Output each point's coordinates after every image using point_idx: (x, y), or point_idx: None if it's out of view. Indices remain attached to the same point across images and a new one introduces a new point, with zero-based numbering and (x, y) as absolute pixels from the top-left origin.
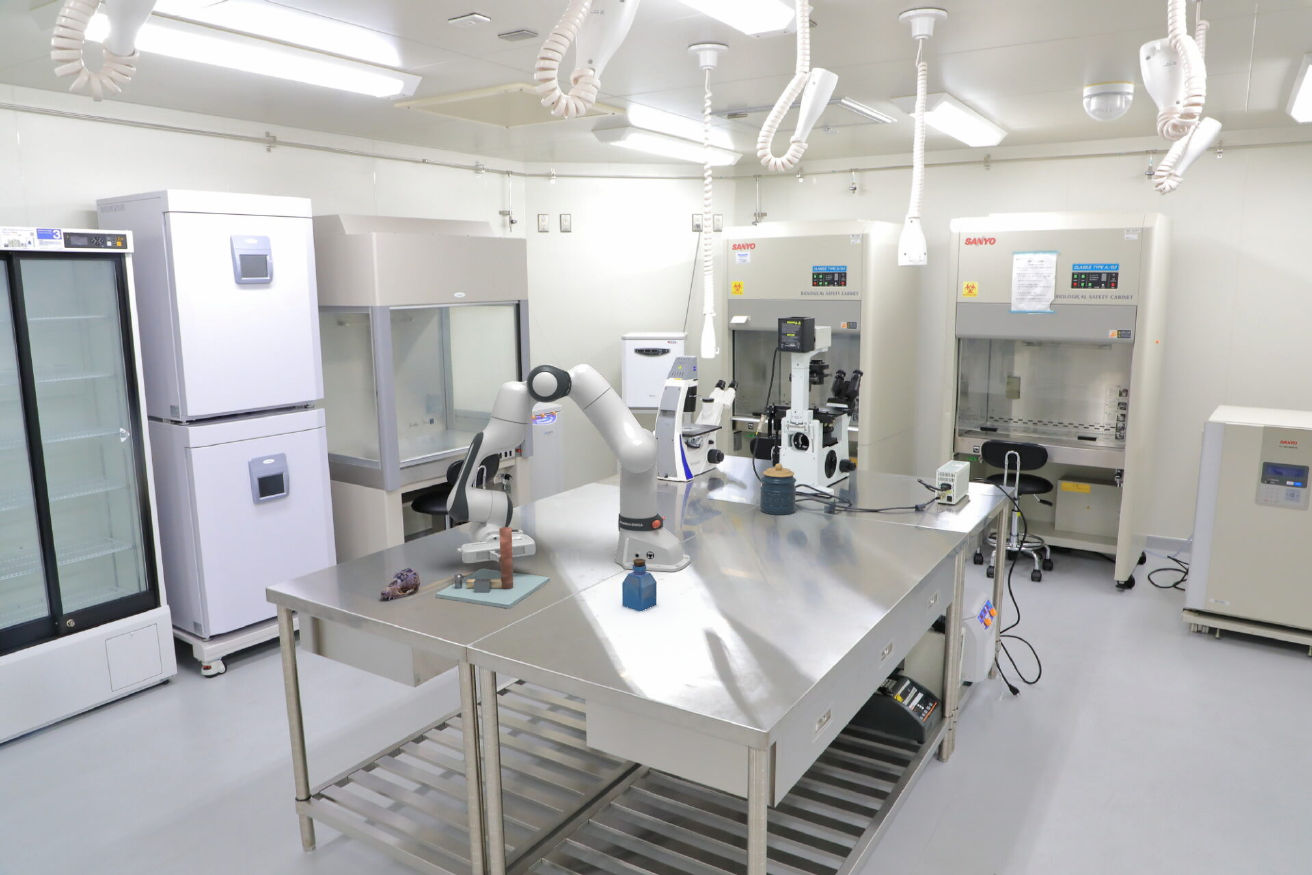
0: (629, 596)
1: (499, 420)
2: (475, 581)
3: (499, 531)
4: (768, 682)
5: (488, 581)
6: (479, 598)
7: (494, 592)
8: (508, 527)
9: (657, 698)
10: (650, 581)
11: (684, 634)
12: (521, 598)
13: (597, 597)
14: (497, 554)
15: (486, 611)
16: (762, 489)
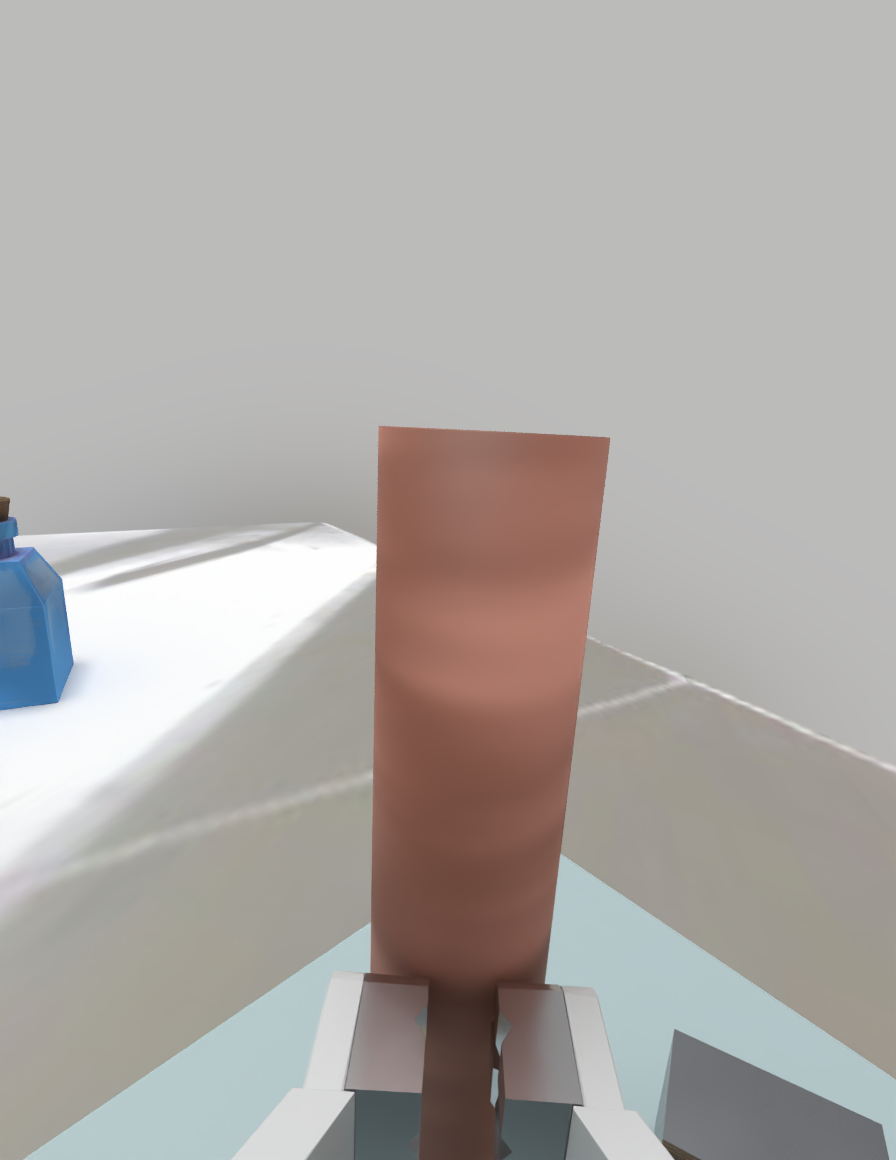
0: (58, 640)
1: None
2: (860, 1121)
3: (603, 483)
4: (220, 535)
5: (682, 1040)
6: (731, 1001)
7: None
8: (413, 430)
9: (375, 547)
10: None
11: (150, 591)
12: None
13: (14, 790)
14: (595, 1078)
15: (647, 859)
16: None
